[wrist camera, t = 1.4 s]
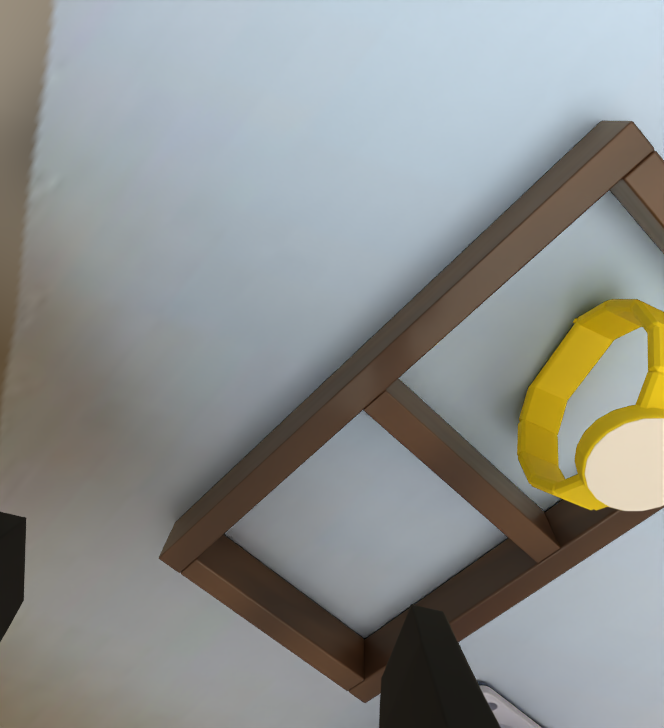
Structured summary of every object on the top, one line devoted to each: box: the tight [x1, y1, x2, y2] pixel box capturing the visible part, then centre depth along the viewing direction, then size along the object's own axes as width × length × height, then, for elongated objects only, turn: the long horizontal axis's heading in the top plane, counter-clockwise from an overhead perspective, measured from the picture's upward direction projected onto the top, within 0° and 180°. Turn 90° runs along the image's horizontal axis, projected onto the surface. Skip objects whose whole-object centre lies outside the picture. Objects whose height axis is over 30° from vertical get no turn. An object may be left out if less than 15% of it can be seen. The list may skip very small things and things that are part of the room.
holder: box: [159, 121, 664, 703], centre depth 20 cm, size 11×20×2 cm, turn 137°
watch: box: [517, 299, 664, 511], centre depth 16 cm, size 6×3×6 cm, turn 156°
